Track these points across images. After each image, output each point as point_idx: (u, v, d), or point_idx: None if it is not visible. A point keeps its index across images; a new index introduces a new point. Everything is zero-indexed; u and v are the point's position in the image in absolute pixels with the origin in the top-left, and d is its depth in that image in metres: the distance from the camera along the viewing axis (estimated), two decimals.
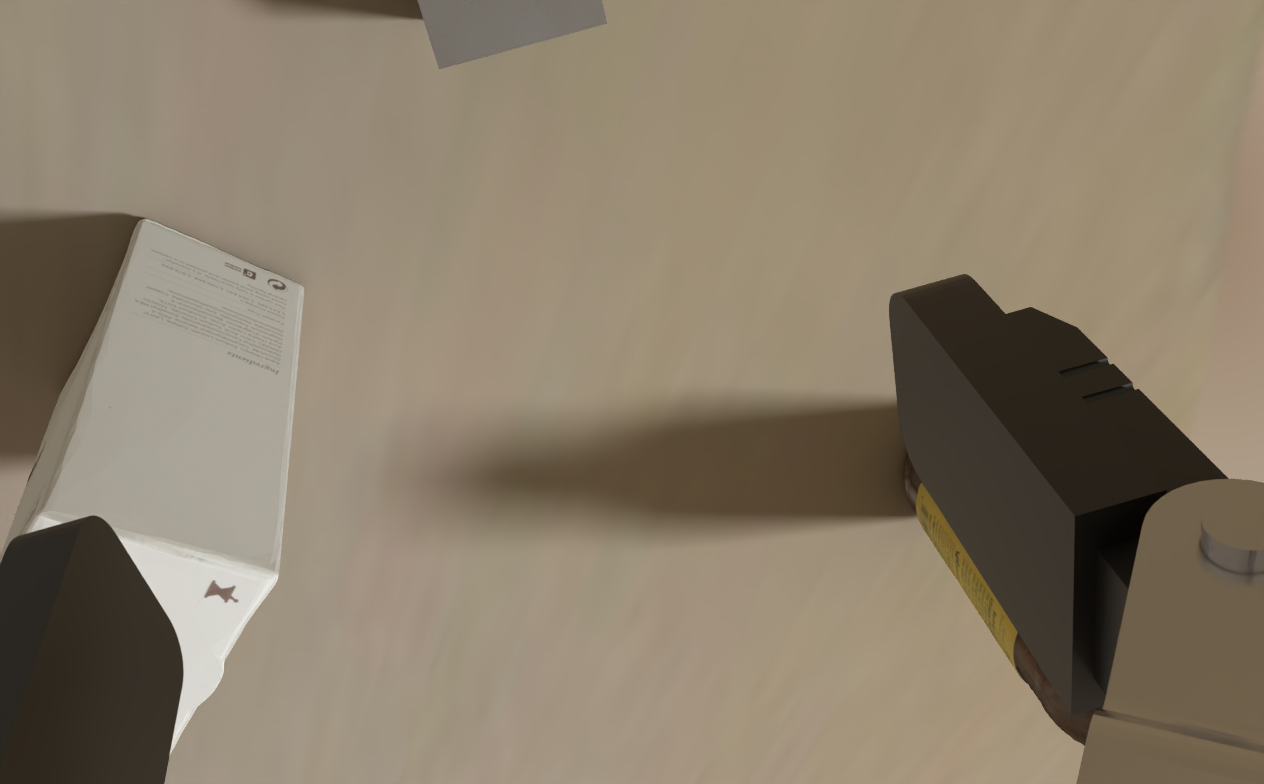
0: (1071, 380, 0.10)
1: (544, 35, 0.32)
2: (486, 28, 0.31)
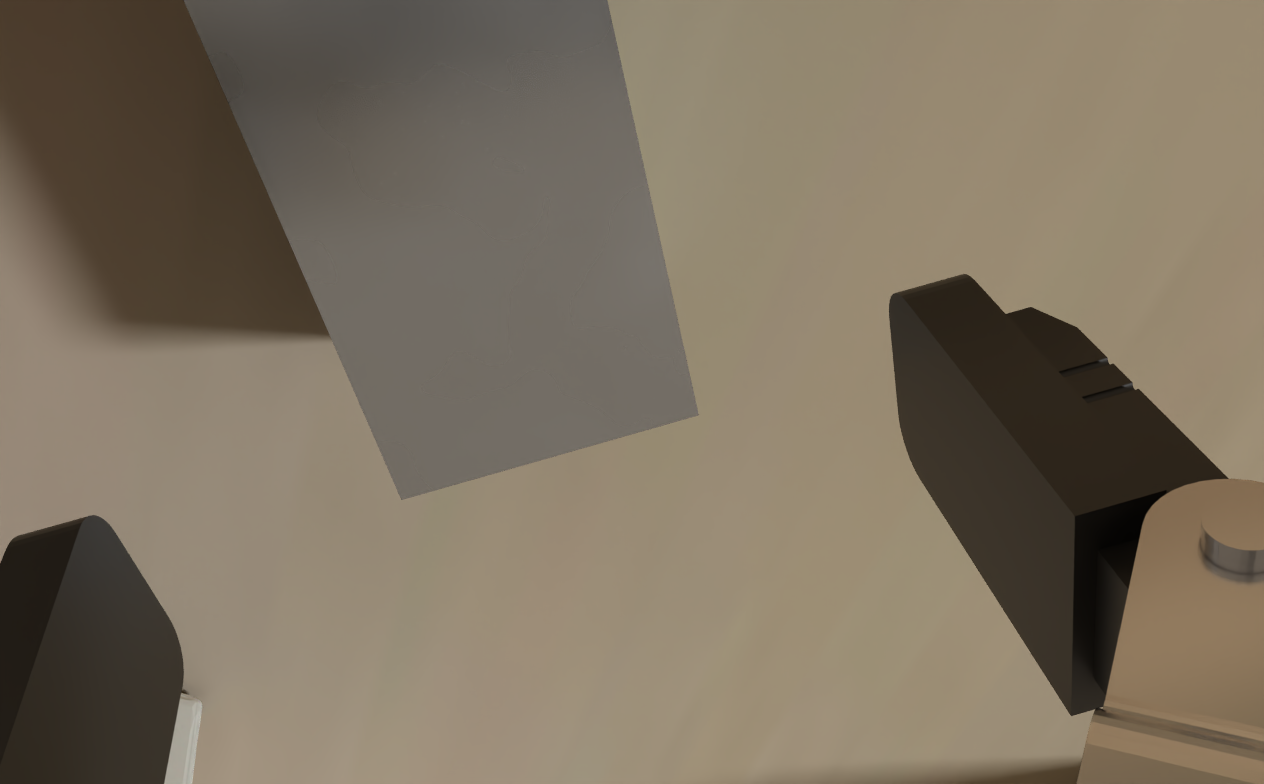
0: (1071, 380, 0.10)
1: (588, 439, 0.18)
2: (486, 436, 0.18)
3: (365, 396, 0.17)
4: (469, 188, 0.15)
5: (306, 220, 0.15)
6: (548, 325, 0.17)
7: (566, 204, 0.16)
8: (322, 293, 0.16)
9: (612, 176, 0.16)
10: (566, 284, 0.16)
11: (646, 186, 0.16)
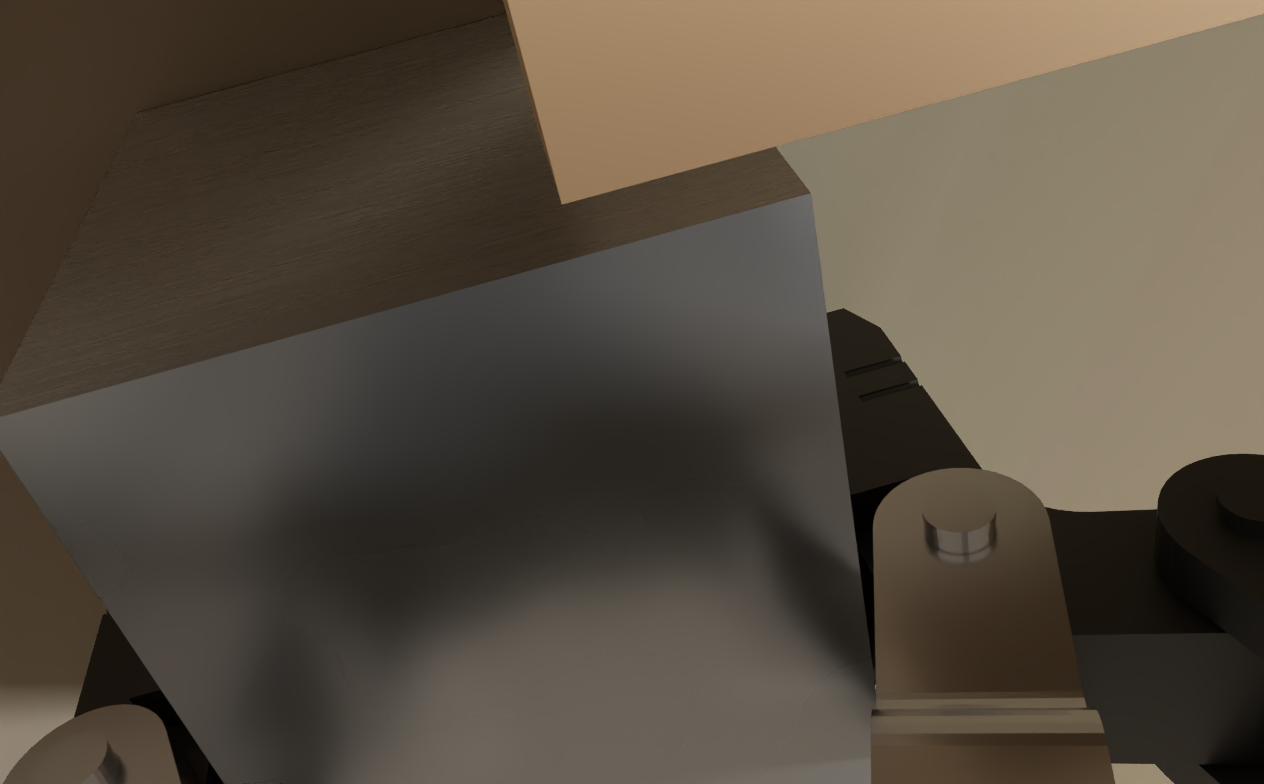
0: (862, 377, 0.11)
1: None
2: None
3: None
4: (557, 688, 0.08)
5: (258, 756, 0.08)
6: None
7: (725, 695, 0.09)
8: None
9: (813, 653, 0.09)
10: None
11: (869, 662, 0.09)
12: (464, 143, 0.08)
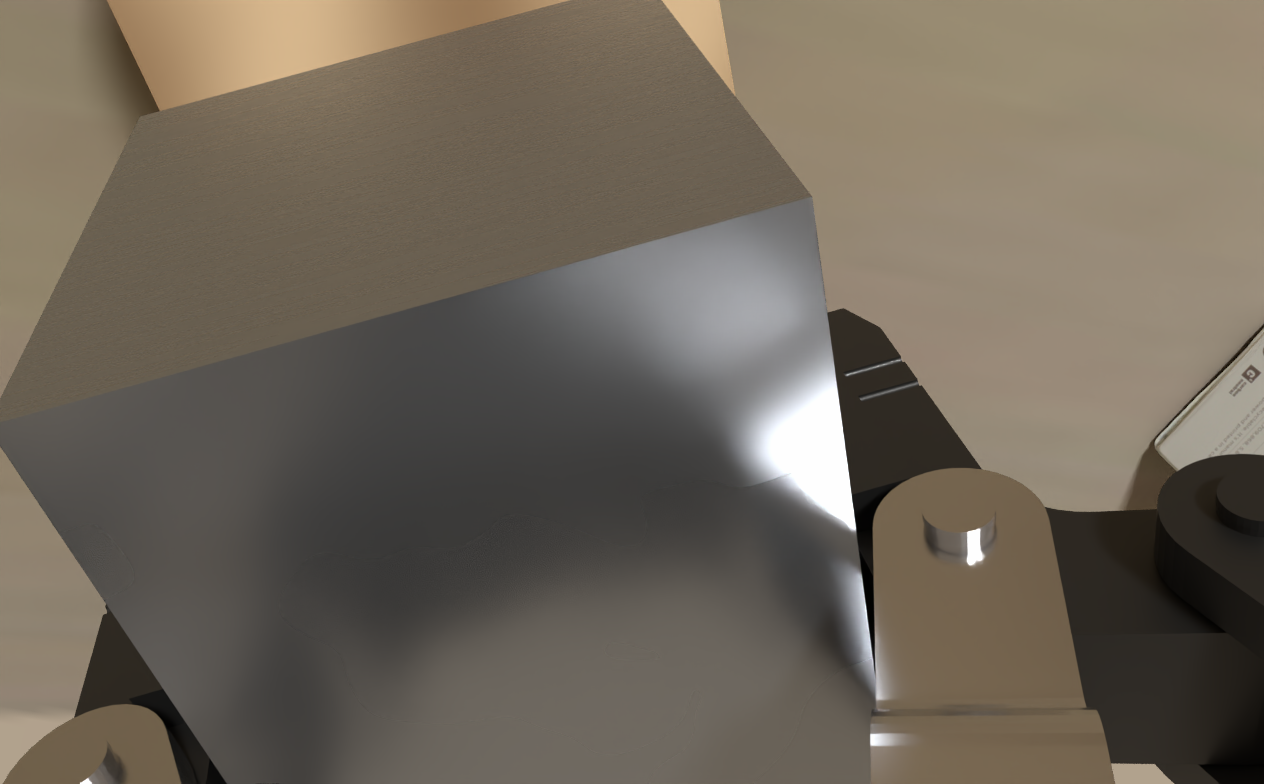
0: (863, 377, 0.11)
1: None
2: None
3: None
4: (559, 689, 0.08)
5: (262, 757, 0.08)
6: None
7: (728, 698, 0.09)
8: None
9: (814, 654, 0.09)
10: None
11: (870, 663, 0.09)
12: (466, 145, 0.08)
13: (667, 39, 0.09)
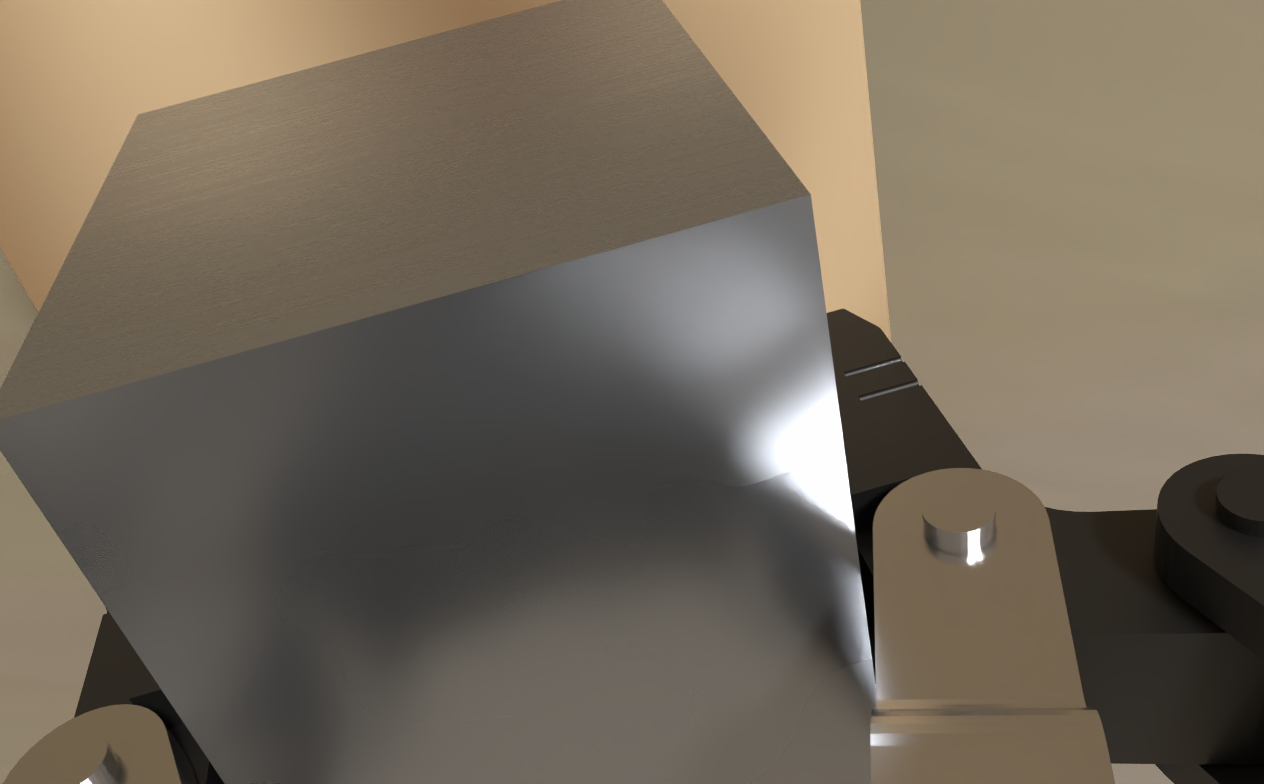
0: (863, 377, 0.11)
1: None
2: None
3: None
4: (557, 689, 0.08)
5: (259, 757, 0.08)
6: None
7: (726, 696, 0.09)
8: None
9: (813, 653, 0.09)
10: None
11: (869, 662, 0.09)
12: (464, 144, 0.08)
13: (666, 37, 0.09)
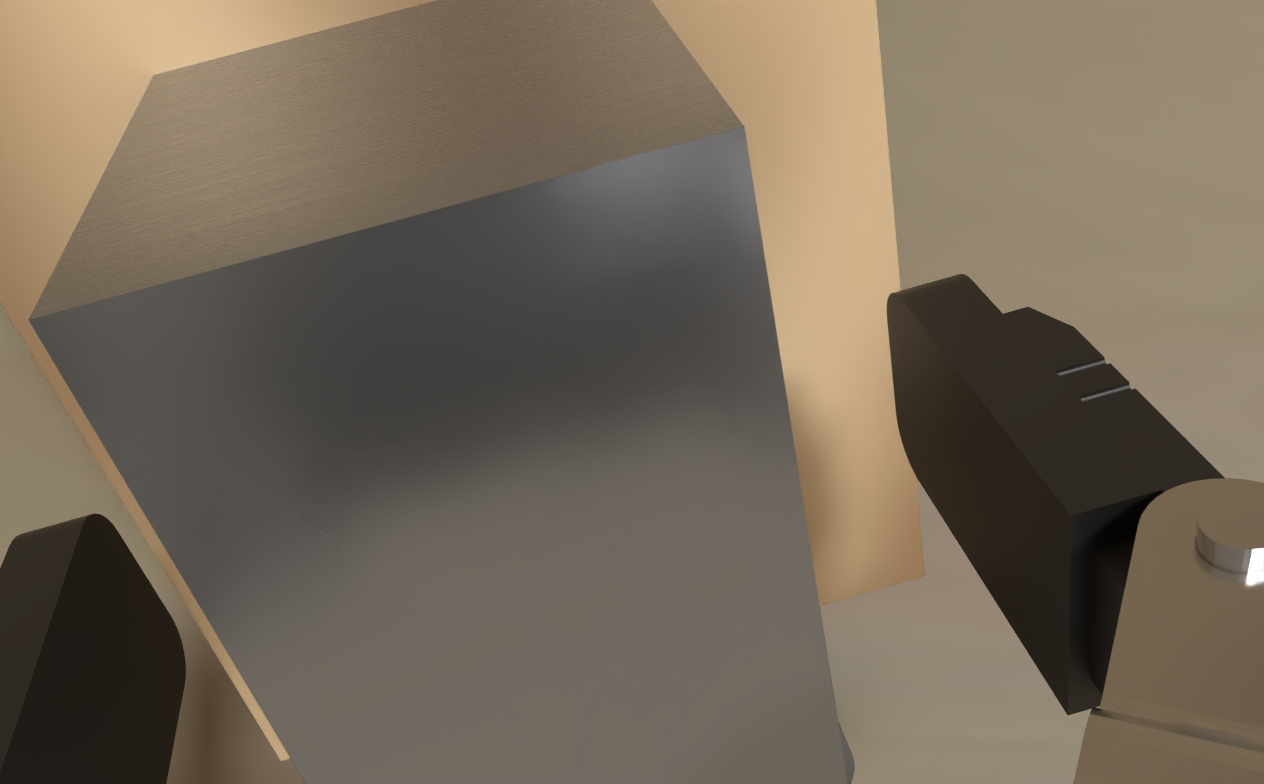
0: (1068, 380, 0.10)
1: None
2: None
3: None
4: (530, 579, 0.09)
5: (264, 637, 0.09)
6: (642, 743, 0.11)
7: (681, 591, 0.10)
8: (291, 730, 0.10)
9: (759, 551, 0.10)
10: (673, 692, 0.10)
11: (810, 561, 0.10)
12: (448, 92, 0.09)
13: (631, 2, 0.10)
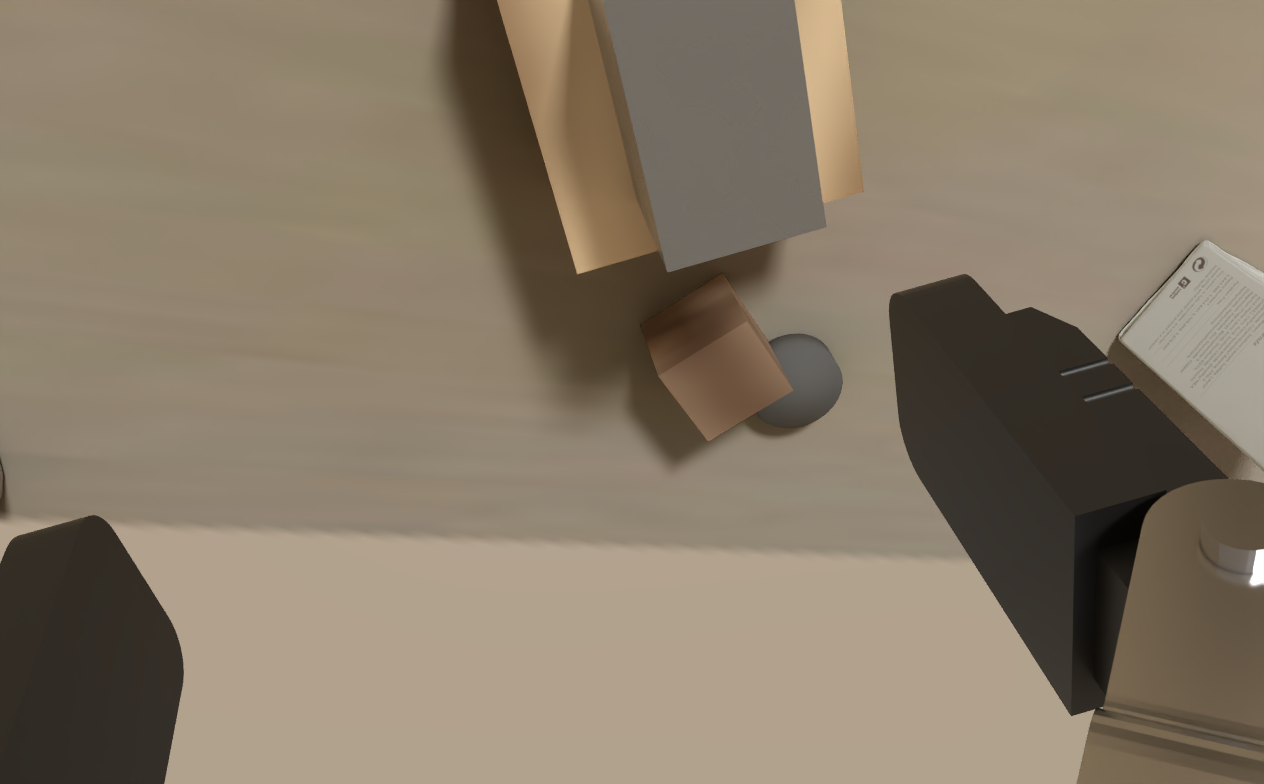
0: (1071, 380, 0.10)
1: (767, 239, 0.33)
2: (714, 235, 0.33)
3: (657, 210, 0.32)
4: (721, 98, 0.31)
5: (642, 114, 0.31)
6: (752, 172, 0.32)
7: (767, 107, 0.31)
8: (644, 152, 0.31)
9: (791, 92, 0.31)
10: (763, 150, 0.32)
11: (807, 97, 0.31)
12: None
13: None
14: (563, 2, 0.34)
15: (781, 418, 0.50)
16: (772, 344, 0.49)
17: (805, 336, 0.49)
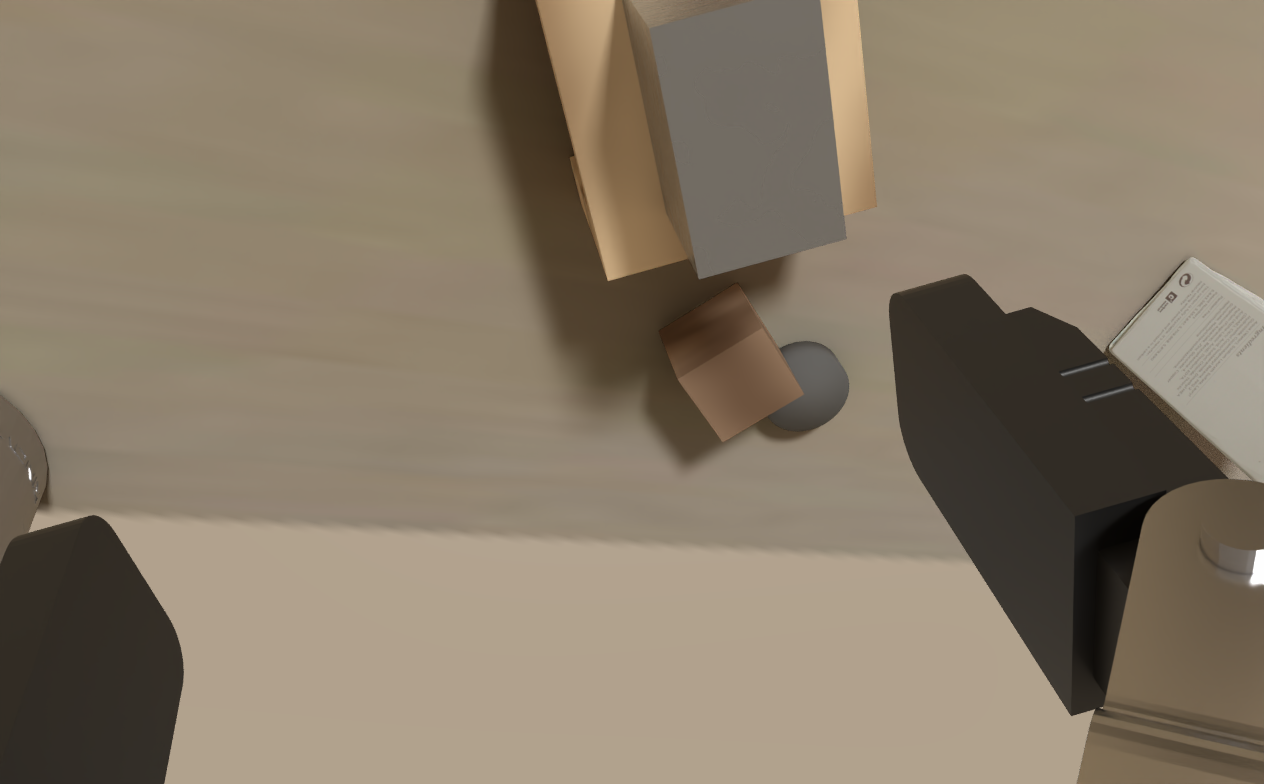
0: (1071, 380, 0.10)
1: (791, 249, 0.36)
2: (743, 245, 0.36)
3: (691, 221, 0.35)
4: (753, 118, 0.33)
5: (681, 132, 0.33)
6: (780, 187, 0.35)
7: (795, 127, 0.34)
8: (681, 168, 0.34)
9: (818, 114, 0.34)
10: (790, 166, 0.34)
11: (832, 119, 0.34)
12: None
13: None
14: (604, 27, 0.36)
15: (790, 421, 0.53)
16: (784, 350, 0.52)
17: (815, 344, 0.52)
